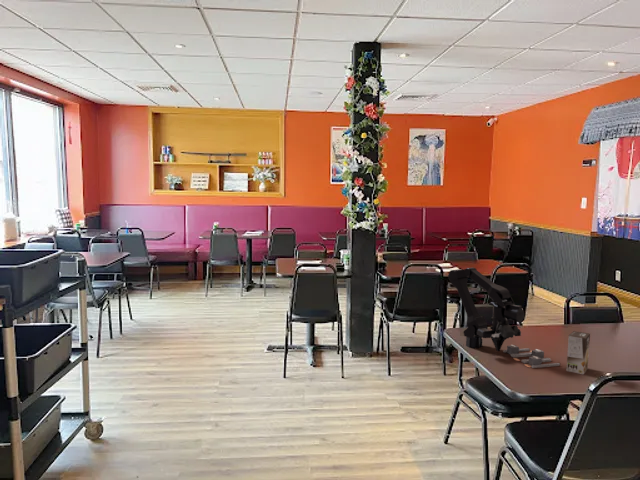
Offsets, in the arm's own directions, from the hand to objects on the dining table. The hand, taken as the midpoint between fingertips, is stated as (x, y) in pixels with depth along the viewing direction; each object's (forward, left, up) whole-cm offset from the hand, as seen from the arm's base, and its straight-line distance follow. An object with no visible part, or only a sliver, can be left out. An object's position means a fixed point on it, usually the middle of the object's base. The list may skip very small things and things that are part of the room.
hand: (497, 351), depth 207 cm
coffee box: (+22, -23, -3) cm, 31 cm away
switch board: (+11, -8, -3) cm, 14 cm away
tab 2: (+15, -8, -2) cm, 16 cm away
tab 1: (+8, 0, -2) cm, 8 cm away
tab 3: (+8, -15, -2) cm, 17 cm away
